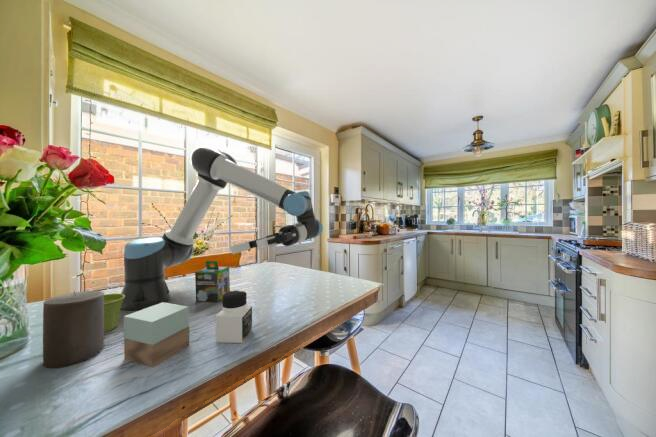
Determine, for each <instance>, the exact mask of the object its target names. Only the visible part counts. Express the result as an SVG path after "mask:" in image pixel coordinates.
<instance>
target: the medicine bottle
mask: <svg viewBox="0 0 656 437" xmlns="http://www.w3.org/2000/svg"><path fill="white" fill-rule="evenodd" d="M247 302H248V301H247V292H246V291H245V290H242V289H234V290H233V289H232V290H230V291H228V292H226V293H225V294H224V295H223V296H222V309H221V311H219V312H218V313H217V314H216V315H215V343H217V344H219V343H222V344H224V343H225V344H227V343H228V344H229V343H230V344H243V343H244V342H245V340H246V338H247V337H248V336H249V335H250V333H251V332H252V330H253V306H252V304H251V305H249V304H248V305H247Z"/></svg>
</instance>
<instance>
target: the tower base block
mask: <svg viewBox="0 0 656 437" xmlns="http://www.w3.org/2000/svg"><path fill="white" fill-rule="evenodd" d="M123 340H124V342H123V343H124V346H123V347H124V352H123V353H124V360H125V361H130V362H133V363H136V364H140V365H143V366H147V367H150V368H155V367H156V366H158V365H159V364H162V363H163V362H164V361H166V360H168V359H169V358H171V357H172V356H175V355H176V354H178V353H179V352H180V351H182V350H184V349H186V348H188V347H189V346H190V326H189V327H187V328H185V329H183V330H181V331H179V332H177V333H175V334H173V335H171V336H169V337H167V338H165V339H163V340H161V341H160V342H158V343H156V344H154V345H150V344H146V343H142V342H138V341H134V340H130V339H126V338H124V337H123Z"/></svg>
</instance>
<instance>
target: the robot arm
mask: <svg viewBox="0 0 656 437" xmlns="http://www.w3.org/2000/svg"><path fill="white" fill-rule="evenodd" d="M190 164H191V166H192V168H193V169H194V171H195V172H197V174H196V177H197V179H198V180H197V182H196V185H195V186H194V187H193V189H192V191H191V193H190V195H189V197H188V199H187V200H186V202H185V204H184V206H183V207H182V210H181V211H180V213H179V214H178V216H177V218H176V220H175V222H174V224H173V226H172V228H171V229H167V230H165V232H163V235H162V237H158V236H157V237H155V236H154V237H145V238H139V239H133V240H130V241H129V242H126V244H125V245H124V252H123V262H124V263H123V265H124V266H123V267H124V268H123V269H124V285H123V289H122V291H121V293H120V294H124V295H125V298H124V299H123V302H122V303H121V308H120V310H125V311H135V310H136V311H137V310H143V309H145V308H148V307H151V306H154V305H156V304H159V303H162V302H164V303H167V302H168V301H169V300H170V299H171V293H170V290H169V287H168V285H167V282H166V280H165V269H167V268H172V267H174V266H179V265H182V264H183V263H186V262H188V261H189V260H190V259H191V258H192V256H193V255H194V251H195V248H194V244H195V239H194V236H195V234H196V232H197V231H198V228H199V227H200V225H201V223H202V221H203V219H204V218H205V217H206V215H207V213H208V210H209V209H210V207H211V205H212V204H213V202H214V200H215V198H216V197H217V194H218V192H219V191H220V190H224V189H225V188H226V187H227V185H228V184H230V185H231V186H234V187H236V188H238V189H240V190H242V191H244V192H246V193H248V194H250V195H252V196H254V197H256V198H258V199H261V200H263V201H265V202H267V203H269V204H270V205H272V206H275V207H277V208H280V209H281V210H282V211H284V212H286V213H287V214H289V215H290V216H294V217H296V222H295V223H292V224H287V225H286V224H285V225H283V226H281V227H280V228H279V230H278V232H275V233H272V234H270V235H269V234H268V235H267V236H265V237H262V238H259V239H255V240H250V241H245V242H242V243H238V244H234V245H230V246H229V247H230V251H231V255H235V254H238V253H243V252H245V251H248V252H250V251H251V249H253V248H257V250H258V251H259V250H262V249H263V250H264V249H267V248H269V247H270V248H271V247H272V246H277V245H280V244H282V245H283V246H285V247H290V246H293V245H296V244H298V245H300V244H302V242H304V241H308V240H311V239H315V238H317V237H318V236H320V235H321V234H322V232H323V231H324V226H323V224H322V222H321V220H319V219H317V218H316V216H315V213H314V208H313V203H312V198H311V195H310V192H309V191H308V190H303V191H297V192H296V191H293V190H292V189H289V188H288V187H285V186H283V185H281V184H279V183H277V182H275V181H273V180H271V179H268V178H267V177H264V176H262V175H260V174H258V173H256V172H255V171H252V170H251V169H248V168H246V167H243V166H242V165H240V164H238V163H237V161H236V159H235V158H234V157H233V156H231V155H230V154H229V153H226V152H225V151H222V150H220V149H218V148H217V147H215V146H213V145H208V144H207V145H206V144H203V145H199V146H198V147H196V148H195V149H193V150H192V151H191V154H190Z"/></svg>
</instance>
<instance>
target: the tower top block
mask: <svg viewBox="0 0 656 437" xmlns="http://www.w3.org/2000/svg"><path fill="white" fill-rule="evenodd" d="M187 327H189V328H190V306H187V305H183V304H182V305H181V304H174V303H171V302H162V303H159V304H156V305H154V306H151V307H148V308H144V309H139V310H138V311H137V310H136V311H135V312H132V313H129V314H126V315H123V339H124V338H126V339H130V340H134V341H138V342H142V343H146V344H150V345H154V344H156V343H158V342H160V341H161V340H163V339H165V338H167V337H169V336H171V335H173V334H175V333H177V332H179V331H181V330H183V329H185V328H187Z"/></svg>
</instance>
